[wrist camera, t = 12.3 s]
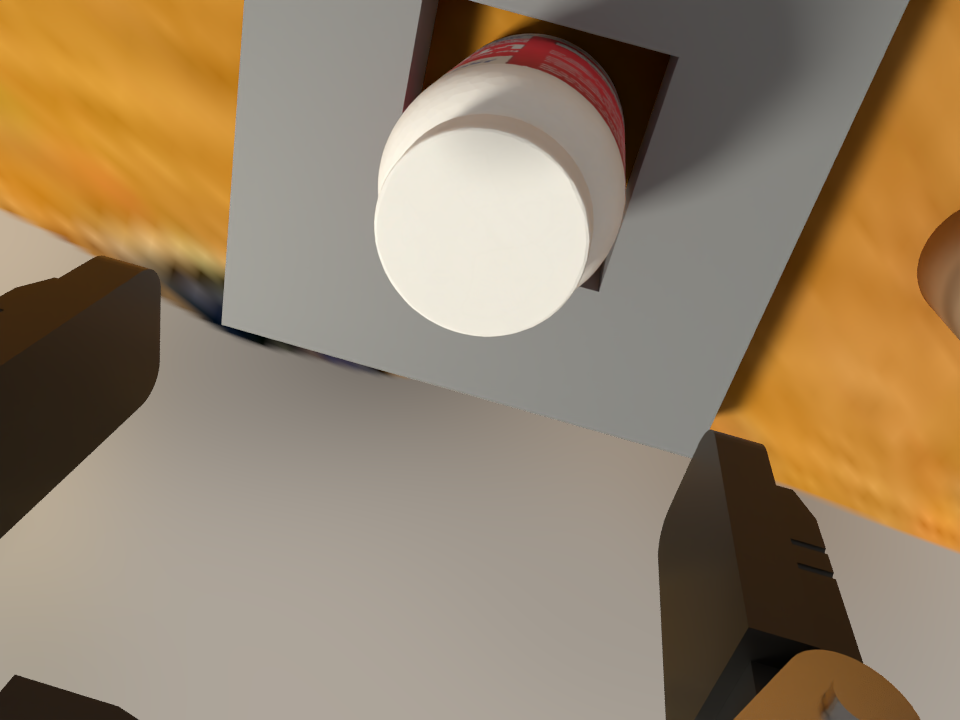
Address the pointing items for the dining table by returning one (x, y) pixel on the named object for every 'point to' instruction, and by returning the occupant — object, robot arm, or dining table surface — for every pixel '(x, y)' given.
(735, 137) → the hole plate
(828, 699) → the robot arm
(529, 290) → the pill bottle
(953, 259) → the walnut stub
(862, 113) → the dining table surface
